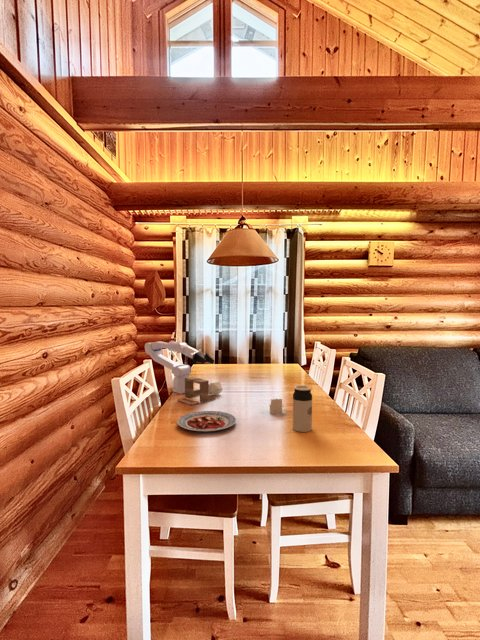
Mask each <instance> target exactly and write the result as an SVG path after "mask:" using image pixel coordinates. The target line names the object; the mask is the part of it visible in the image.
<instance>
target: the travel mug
mask: <svg viewBox="0 0 480 640" xmlns="http://www.w3.org/2000/svg"><path fill="white" fill-rule="evenodd" d="M312 388H313V387H311V386H309V385H306V384H305V385H303V384H301V385H300V384H299V385H294V386H293V389H294V392H293V394H292V429H293V430H294V431H296V432H298V433H308V432H310V431H312V428H313V427H312V426H313V394H312V393H311V391H312Z"/></svg>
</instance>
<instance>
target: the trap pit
mask: <svg viewBox="0 0 480 640" xmlns="http://www.w3.org/2000/svg"><path fill="white" fill-rule="evenodd" d="M177 401H178V402H179V403H182V404H184V405H185V404H186V405H188V406H191V407H192V406H195V405H199V404H200V400H199V401H198V400H196V399H192V398H190V397H188V398H186V397H185V396H184V397H181V398H177Z"/></svg>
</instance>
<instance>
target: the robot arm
mask: <svg viewBox="0 0 480 640" xmlns="http://www.w3.org/2000/svg"><path fill="white" fill-rule="evenodd" d="M163 349H166V350H168V351H170V352H176V353H177V354H183V355H185V356H186V357H188V358H190V359H191V360H192V362H193V363H194V362H195V363H201V364H206V363H209V364H214V363H215V359H213V357H211V355H210V353H209V352H206V353H204V352H202V349H200V348H199V349H197V348H194V347H191V346H190V345H188V343H187V342H185V341H183V342H180V341H175V340H170V341H169V342H165V341H161V340H160V341H159V340H158V341H154V342H153V341H151V342H146V343H145V344H144V350H145V354H147V355H149V357H150V358H151V359H152V360H153V361H154V362H155V363H157V364H159V365H161V366H163V367H165V368H167V369H169V370H171V374H173V375H174V377H173V380H172V384H173V385H172V387H173V388H172V390H171V391H172V392H173V393H174V392H175V393H177V394H181V395H182V394H185V378H186V377H190V375H191V373H192V368H191V366H190V365H189V364H184V363H178V362H177V361H174V360H172V358H171V359H170V358H168V357H166V356H165V355H163Z"/></svg>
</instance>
